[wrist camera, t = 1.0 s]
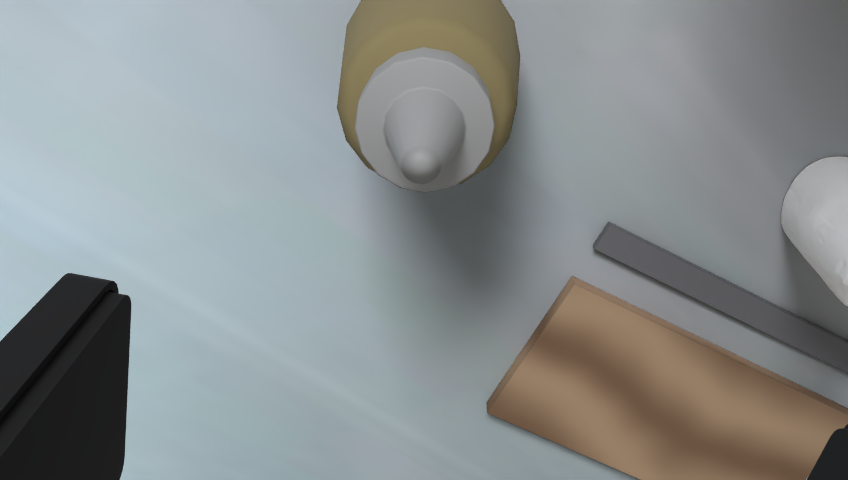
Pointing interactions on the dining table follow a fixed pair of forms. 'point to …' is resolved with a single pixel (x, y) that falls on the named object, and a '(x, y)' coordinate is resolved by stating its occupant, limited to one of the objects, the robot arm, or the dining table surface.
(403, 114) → the squeeze bottle
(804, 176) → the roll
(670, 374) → the board
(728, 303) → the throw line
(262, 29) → the dining table surface
